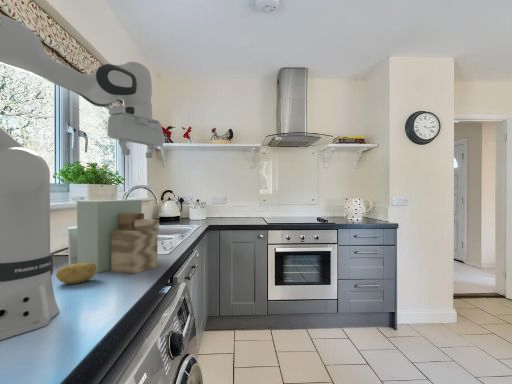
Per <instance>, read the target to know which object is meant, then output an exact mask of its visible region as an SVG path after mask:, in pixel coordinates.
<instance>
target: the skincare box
mask: <svg viewBox="0 0 512 384" xmlns="http://www.w3.org/2000/svg"><path fill="white" fill-rule="evenodd" d="M67 245H68V246H67V247H68V248H67V249H68V265H72V264H76V263H77V225H76V226H68V227H67Z"/></svg>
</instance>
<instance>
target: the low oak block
mask: <svg viewBox="0 0 512 384" xmlns="http://www.w3.org/2000/svg"><path fill="white" fill-rule="evenodd" d="M158 256H159V255H158V231H152V232H150V231H137V230H133V231H129V230H112V231H111V269H110V270H111V272H116V273H120V274H121V273H122V274H126V275H127V274H128V275H136V274H138V273H141V272H143V271H147V270H151V269H154V268H157V267H158V265H159V264H158Z"/></svg>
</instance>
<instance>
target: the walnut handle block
mask: <svg viewBox="0 0 512 384" xmlns="http://www.w3.org/2000/svg"><path fill="white" fill-rule="evenodd" d="M118 230H129V231H133V230H137V231H150V232H152V231H157V232H158V231H159V230H160V220H159V219H152V218H151V219H150V218H145V213H144V212H143V213H125V214H118Z"/></svg>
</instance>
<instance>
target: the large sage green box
mask: <svg viewBox="0 0 512 384" xmlns="http://www.w3.org/2000/svg"><path fill="white" fill-rule="evenodd" d="M142 202H143V201H142V199H107V200H103V199H101V200H78V201H76V226H77V263H89V262H90V263H93V264H95V266H96V274H99V273H104V272H106V271H110V270H111V231H112V230H118V214H125V213H142V211H143V210H142V206H143V205H142Z"/></svg>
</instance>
